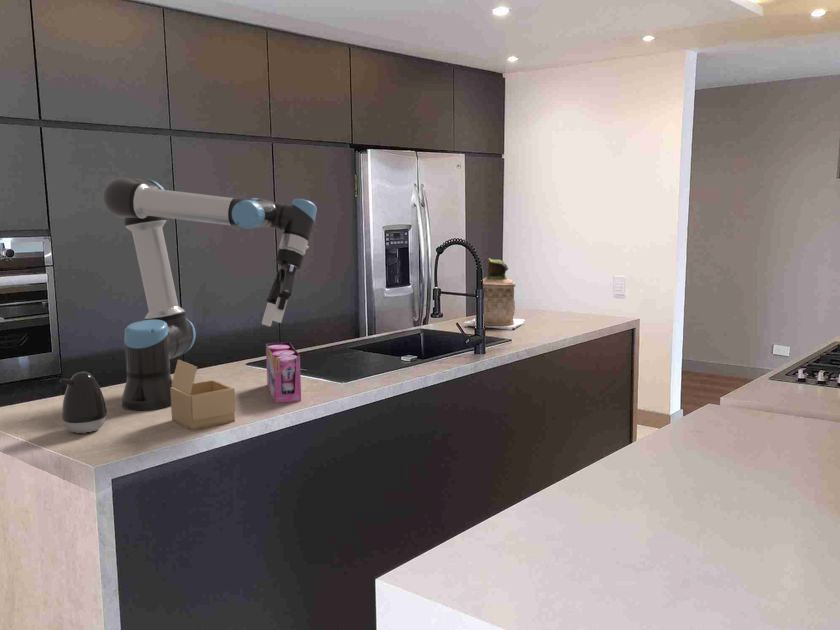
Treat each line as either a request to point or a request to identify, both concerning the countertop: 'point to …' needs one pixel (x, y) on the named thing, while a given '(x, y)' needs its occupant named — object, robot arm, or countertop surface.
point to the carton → (203, 405)
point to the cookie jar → (498, 298)
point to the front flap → (184, 376)
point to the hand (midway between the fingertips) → (270, 323)
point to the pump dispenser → (83, 404)
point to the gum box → (283, 372)
